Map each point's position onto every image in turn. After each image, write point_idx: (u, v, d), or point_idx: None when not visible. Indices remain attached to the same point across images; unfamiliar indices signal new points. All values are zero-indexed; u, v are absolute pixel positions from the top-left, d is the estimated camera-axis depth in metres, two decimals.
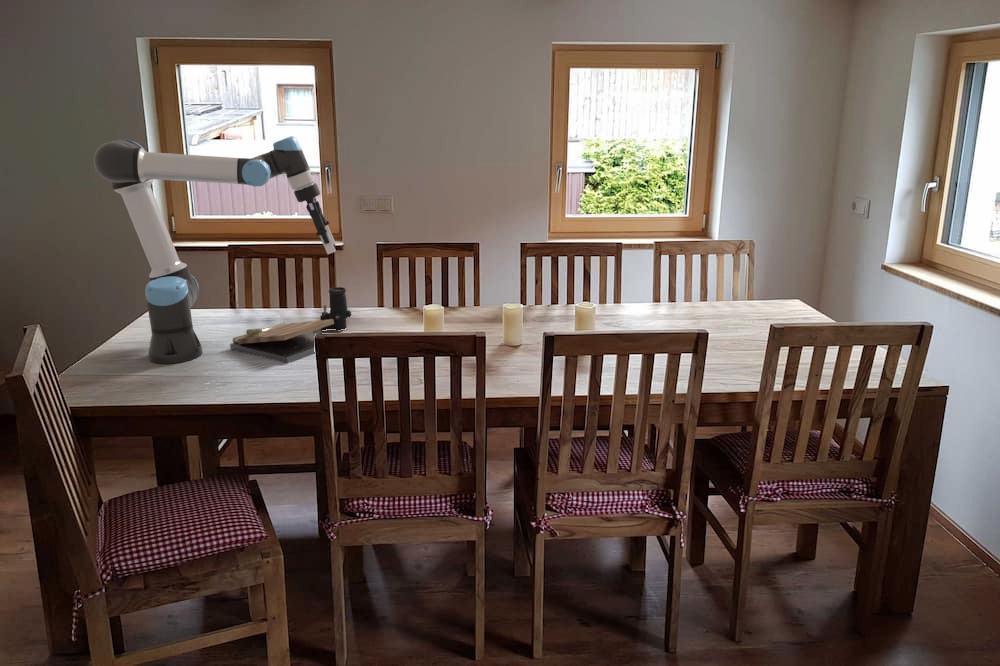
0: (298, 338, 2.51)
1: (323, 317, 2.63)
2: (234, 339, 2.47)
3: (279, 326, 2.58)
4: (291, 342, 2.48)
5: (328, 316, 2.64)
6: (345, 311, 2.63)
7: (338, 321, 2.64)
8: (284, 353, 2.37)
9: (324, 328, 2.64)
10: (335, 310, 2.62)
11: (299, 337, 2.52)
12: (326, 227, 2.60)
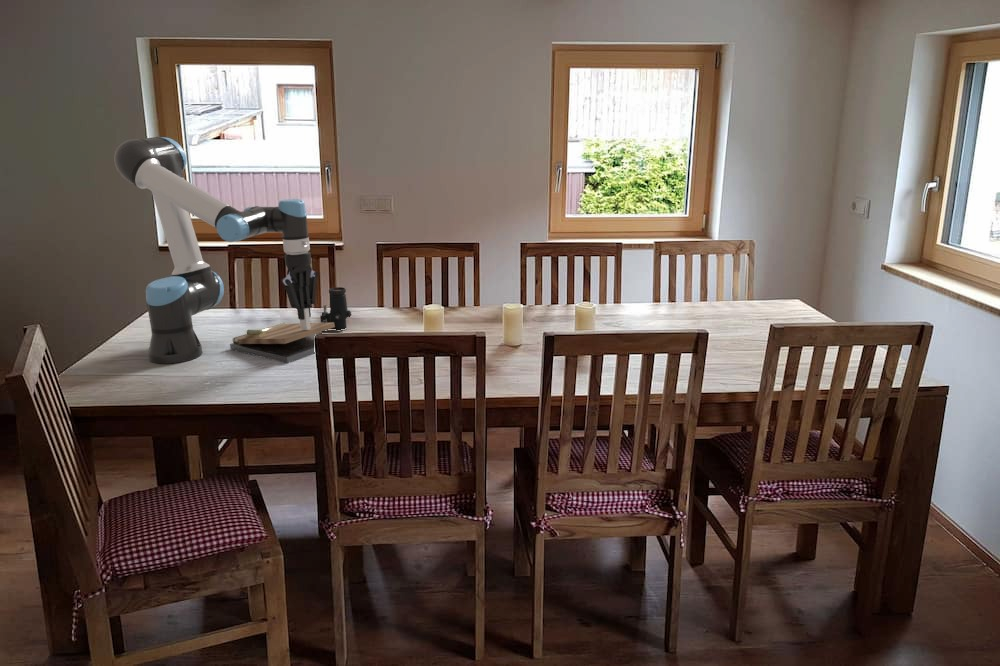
0: None
1: (323, 317, 2.63)
2: (234, 339, 2.47)
3: (279, 326, 2.58)
4: (291, 342, 2.48)
5: (328, 316, 2.64)
6: (345, 311, 2.63)
7: (338, 321, 2.64)
8: (284, 353, 2.37)
9: None
10: (335, 310, 2.62)
11: None
12: None
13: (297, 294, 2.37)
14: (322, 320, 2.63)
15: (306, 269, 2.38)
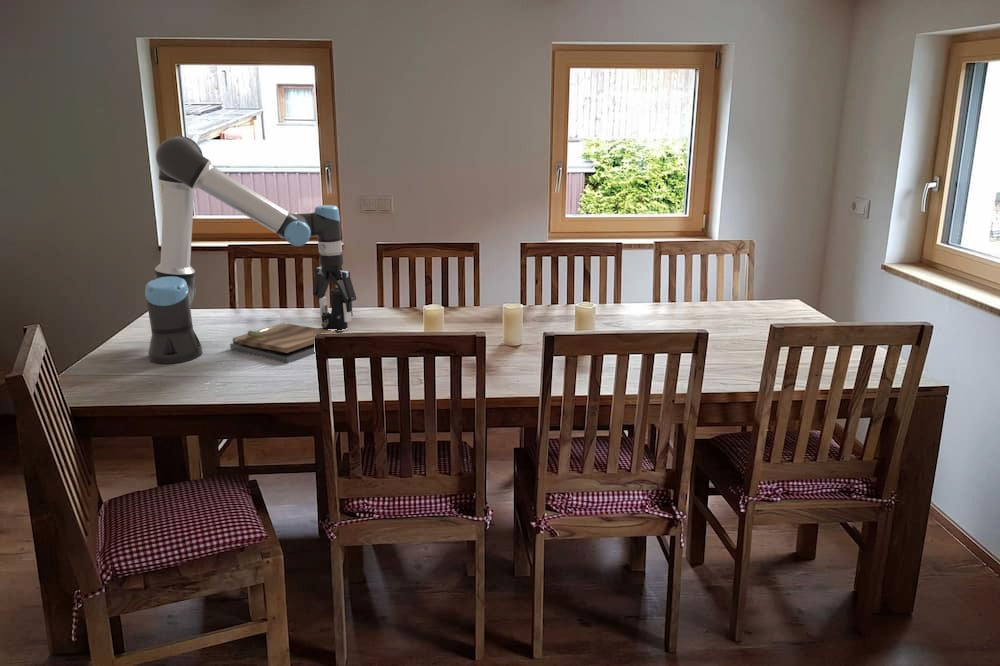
0: None
1: (324, 317, 2.63)
2: (234, 339, 2.47)
3: (280, 326, 2.58)
4: None
5: (329, 316, 2.64)
6: None
7: (339, 321, 2.64)
8: (284, 353, 2.37)
9: (325, 328, 2.64)
10: (336, 310, 2.62)
11: None
12: None
13: None
14: (323, 320, 2.63)
15: (333, 273, 2.59)
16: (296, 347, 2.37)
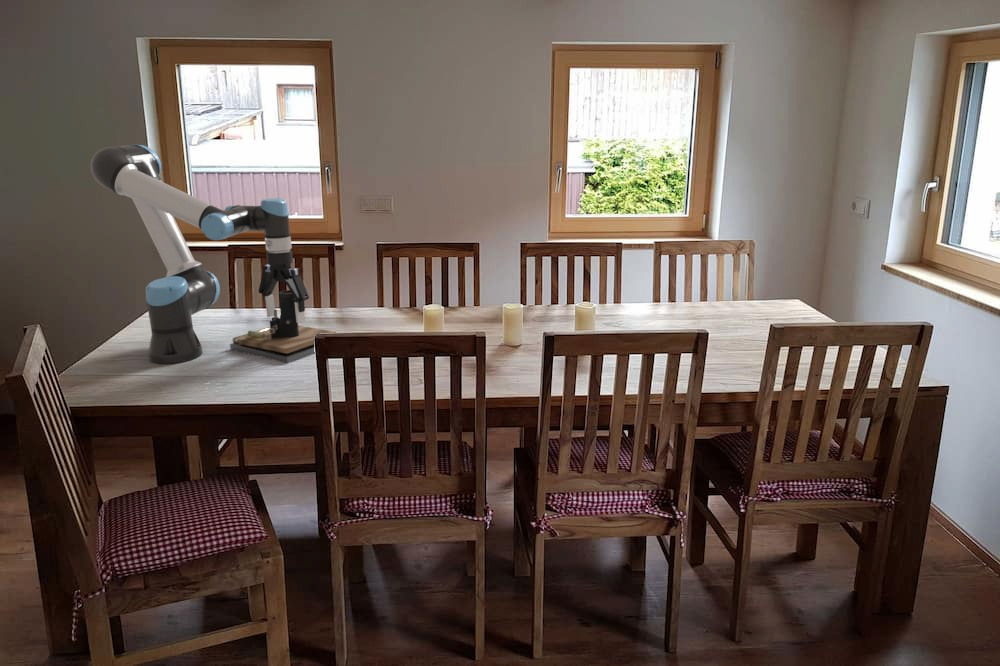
0: None
1: (273, 322, 2.44)
2: (234, 339, 2.47)
3: None
4: None
5: (278, 321, 2.44)
6: None
7: (289, 327, 2.44)
8: (284, 353, 2.37)
9: (274, 334, 2.45)
10: (285, 315, 2.43)
11: None
12: None
13: None
14: (272, 326, 2.44)
15: (282, 272, 2.40)
16: (296, 348, 2.37)
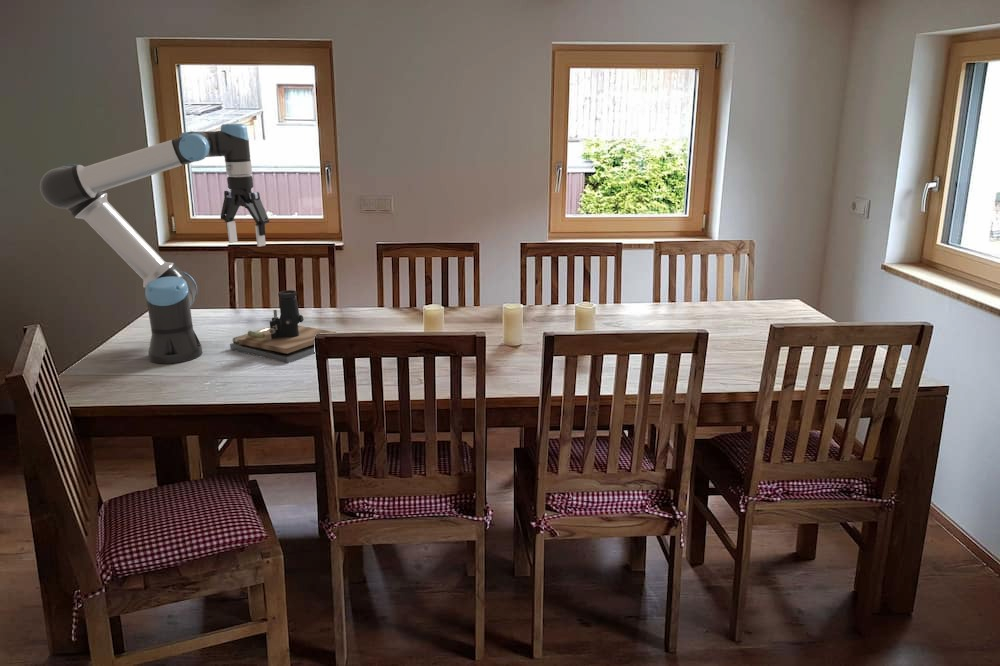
0: None
1: (273, 323, 2.44)
2: (234, 339, 2.47)
3: None
4: None
5: (278, 321, 2.44)
6: (296, 316, 2.44)
7: (289, 327, 2.44)
8: (284, 353, 2.37)
9: (274, 335, 2.45)
10: (285, 315, 2.43)
11: None
12: None
13: None
14: (272, 326, 2.44)
15: (242, 197, 2.45)
16: (296, 348, 2.37)
